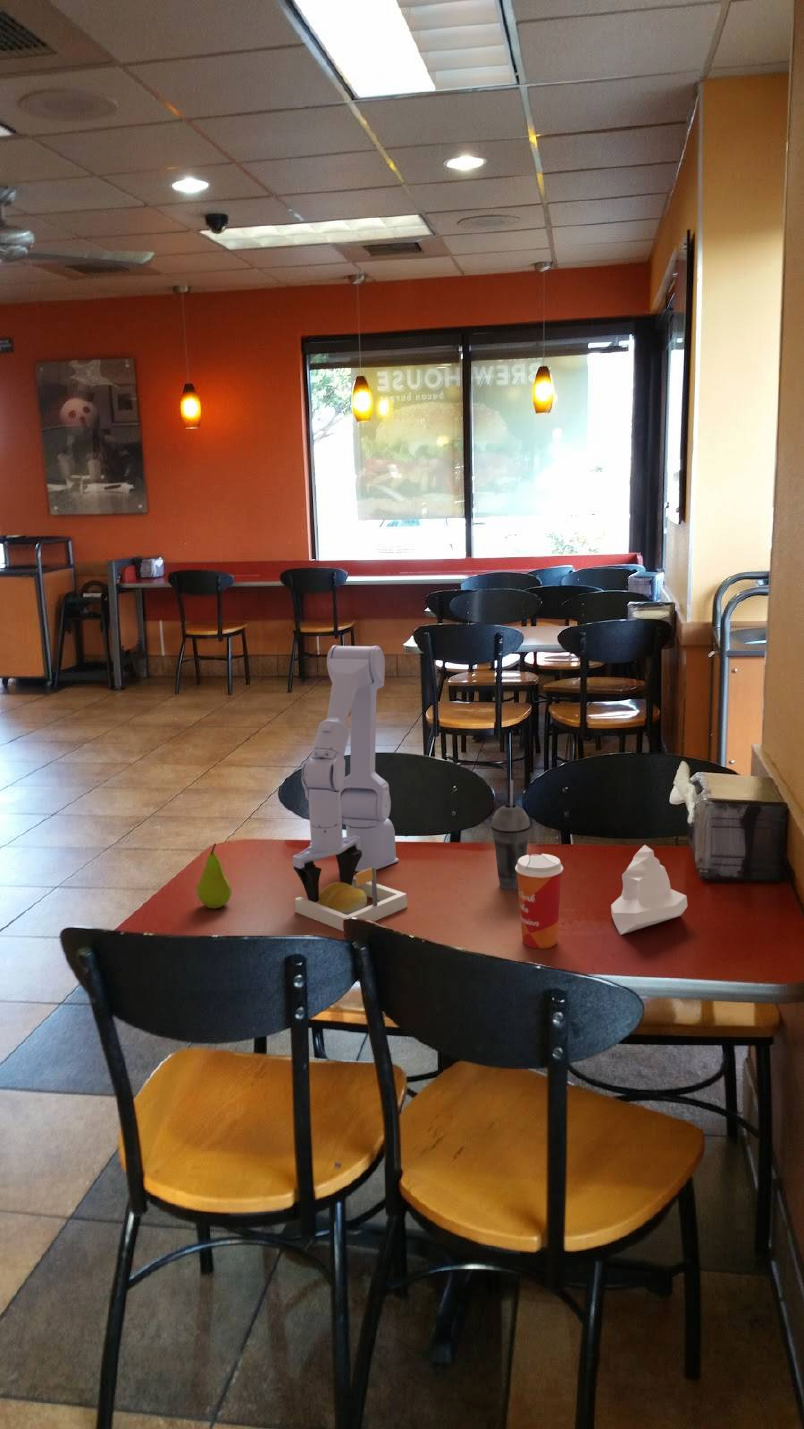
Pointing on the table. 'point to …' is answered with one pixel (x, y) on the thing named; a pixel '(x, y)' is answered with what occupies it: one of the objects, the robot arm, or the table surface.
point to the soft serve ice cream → (646, 895)
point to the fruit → (213, 884)
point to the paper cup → (539, 899)
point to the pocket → (387, 905)
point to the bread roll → (342, 898)
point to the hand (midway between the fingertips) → (329, 894)
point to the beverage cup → (510, 841)
